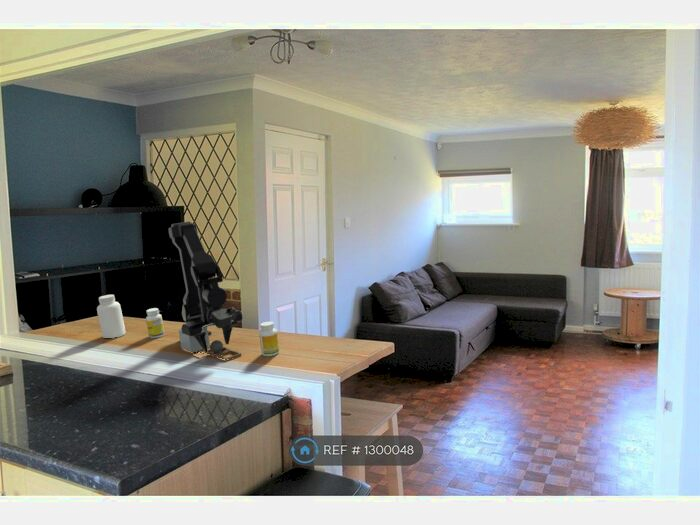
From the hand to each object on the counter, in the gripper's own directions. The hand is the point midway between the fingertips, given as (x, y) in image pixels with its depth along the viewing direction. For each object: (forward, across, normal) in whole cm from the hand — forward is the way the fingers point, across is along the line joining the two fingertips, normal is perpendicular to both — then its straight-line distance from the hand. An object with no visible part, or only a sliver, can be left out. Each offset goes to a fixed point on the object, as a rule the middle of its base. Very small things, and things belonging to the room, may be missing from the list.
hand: (216, 347), depth 175 cm
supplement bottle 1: (+2, -3, +36) cm, 36 cm away
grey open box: (+2, -2, +10) cm, 10 cm away
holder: (+2, 0, -3) cm, 3 cm away
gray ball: (+2, 0, 0) cm, 2 cm away
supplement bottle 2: (+2, +9, -16) cm, 18 cm away
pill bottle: (+2, -12, +52) cm, 53 cm away
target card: (+2, -4, +3) cm, 6 cm away
